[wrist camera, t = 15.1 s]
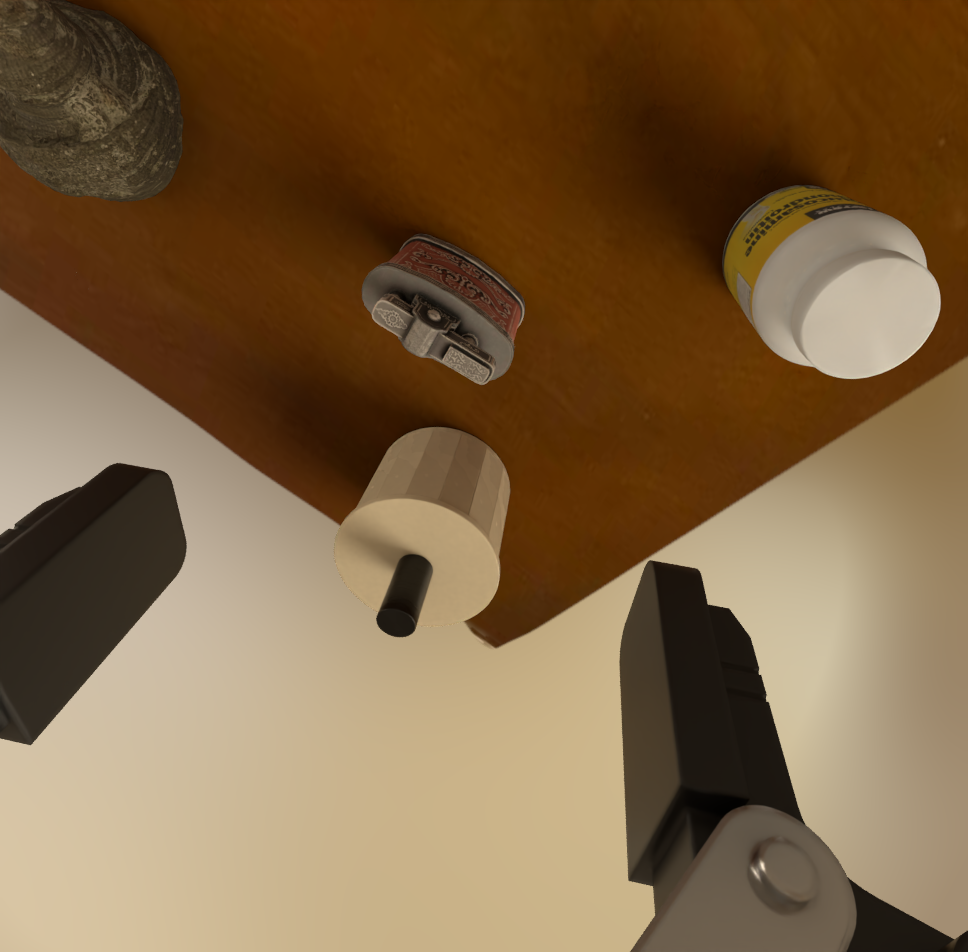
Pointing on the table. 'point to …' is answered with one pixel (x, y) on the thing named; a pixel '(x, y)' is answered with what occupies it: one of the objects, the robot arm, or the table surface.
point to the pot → (447, 475)
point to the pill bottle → (831, 281)
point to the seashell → (86, 102)
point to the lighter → (446, 307)
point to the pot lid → (416, 562)
